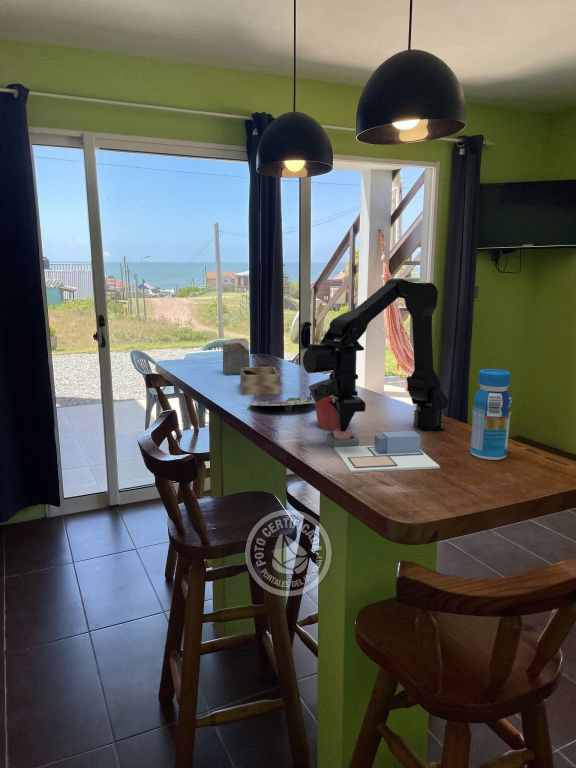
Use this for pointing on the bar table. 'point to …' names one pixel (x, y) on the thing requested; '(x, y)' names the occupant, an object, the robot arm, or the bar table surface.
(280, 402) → the city model
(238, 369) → the geological specimen
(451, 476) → the bar table surface
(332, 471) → the bar table surface
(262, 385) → the open wooden box
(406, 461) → the white sorting board
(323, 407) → the flower pot
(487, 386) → the beverage bottle
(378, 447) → the blue paint stick
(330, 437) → the button housing
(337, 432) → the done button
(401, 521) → the bar table surface
